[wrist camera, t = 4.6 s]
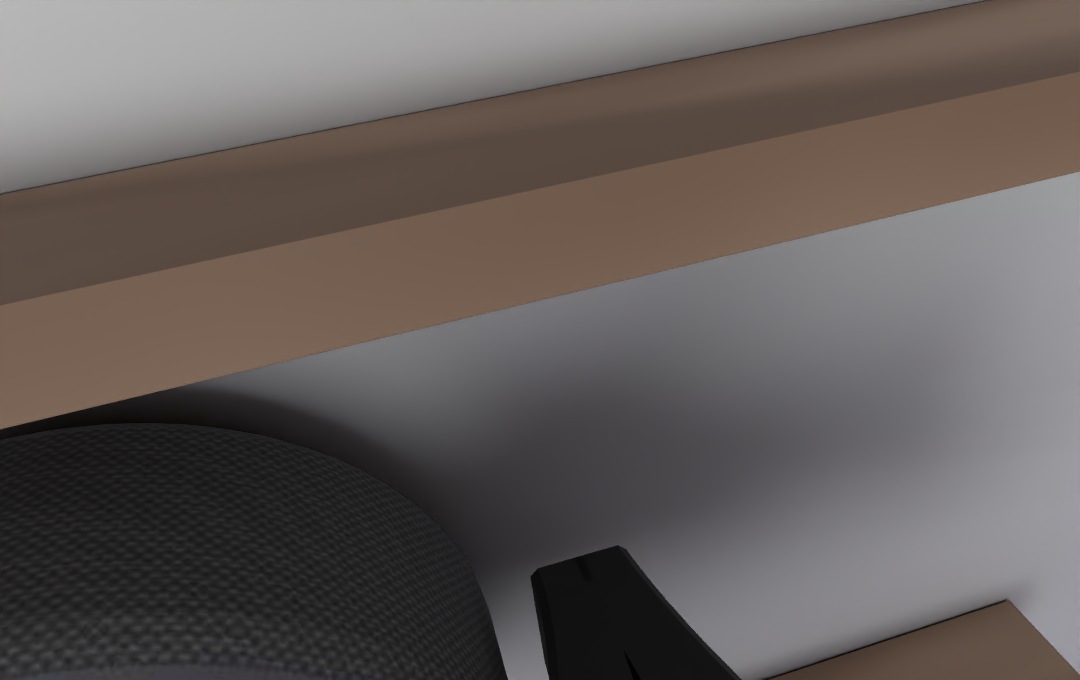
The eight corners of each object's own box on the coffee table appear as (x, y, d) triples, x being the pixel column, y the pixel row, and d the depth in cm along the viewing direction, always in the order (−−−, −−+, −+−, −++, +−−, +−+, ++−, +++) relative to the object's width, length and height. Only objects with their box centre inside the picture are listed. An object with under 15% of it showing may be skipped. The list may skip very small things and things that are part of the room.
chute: (999, 631, 17) (1097, 740, 15) (158, 914, 14) (139, 1093, 12) (1211, -44, 10) (1452, -9, 8) (-383, 269, 7) (-641, 443, 5)
